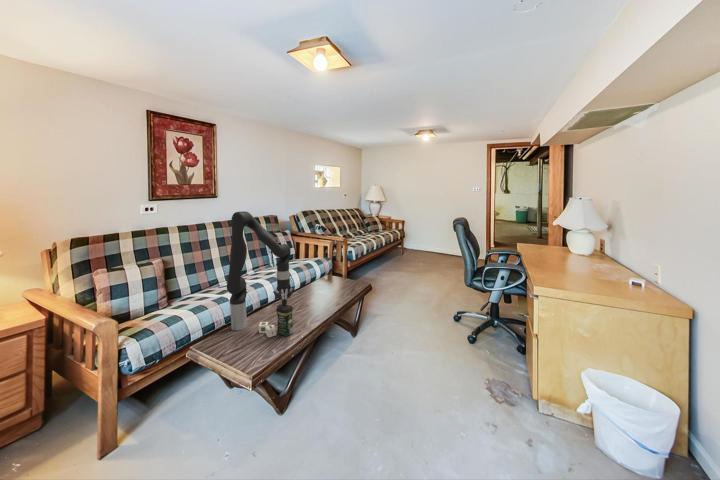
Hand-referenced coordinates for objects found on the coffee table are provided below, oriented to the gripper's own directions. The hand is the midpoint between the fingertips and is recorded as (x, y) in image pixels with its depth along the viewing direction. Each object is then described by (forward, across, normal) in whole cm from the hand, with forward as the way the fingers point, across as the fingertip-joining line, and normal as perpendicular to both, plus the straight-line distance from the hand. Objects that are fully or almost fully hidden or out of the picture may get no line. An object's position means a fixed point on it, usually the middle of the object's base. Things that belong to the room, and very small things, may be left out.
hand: (284, 304), depth 178 cm
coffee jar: (+19, 0, 0) cm, 19 cm away
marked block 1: (+19, -12, +8) cm, 24 cm away
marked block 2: (+19, -8, +2) cm, 21 cm away
